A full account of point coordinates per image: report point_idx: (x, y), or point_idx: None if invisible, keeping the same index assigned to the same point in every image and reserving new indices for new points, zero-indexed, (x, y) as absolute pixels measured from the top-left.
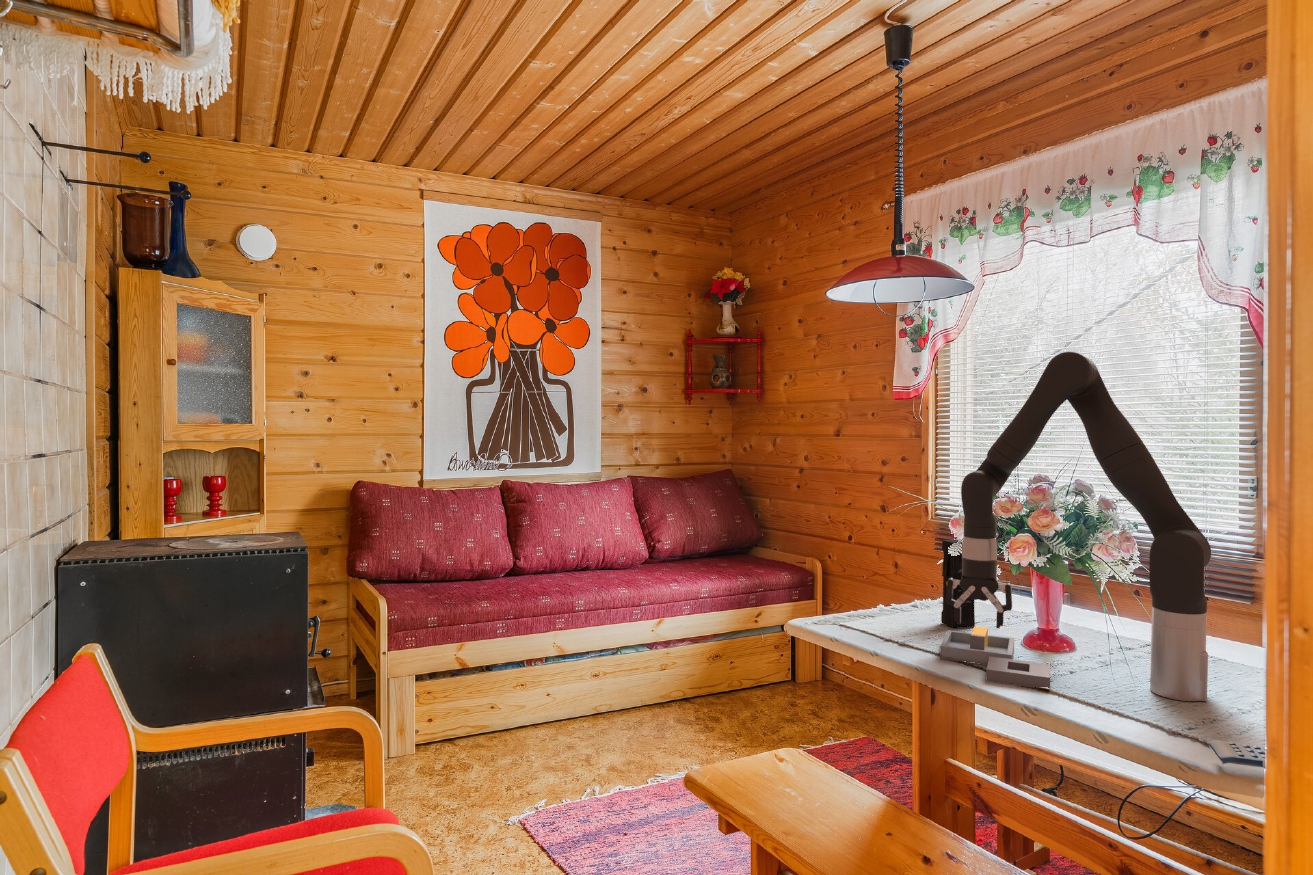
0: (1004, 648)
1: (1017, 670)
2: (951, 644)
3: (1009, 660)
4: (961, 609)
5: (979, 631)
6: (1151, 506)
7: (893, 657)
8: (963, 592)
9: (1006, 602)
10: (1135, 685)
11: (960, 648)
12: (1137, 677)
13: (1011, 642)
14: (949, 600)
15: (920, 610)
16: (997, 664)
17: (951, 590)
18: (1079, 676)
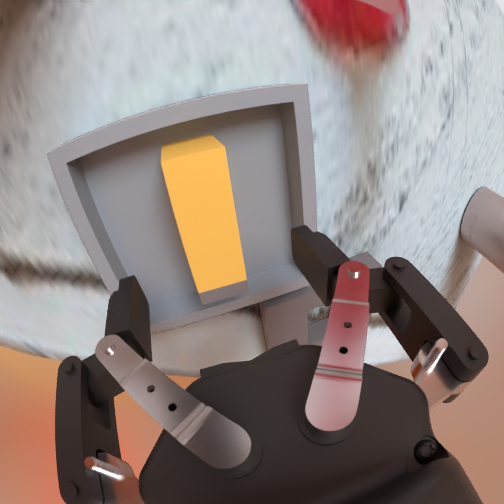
0: (266, 120)
1: (323, 338)
2: (99, 200)
3: (309, 303)
4: None
5: (210, 234)
6: None
7: (73, 355)
8: (138, 403)
9: (394, 330)
10: (455, 210)
11: (188, 322)
12: (466, 166)
13: (307, 155)
14: (106, 405)
15: None
16: (289, 338)
17: (117, 456)
18: (408, 219)
